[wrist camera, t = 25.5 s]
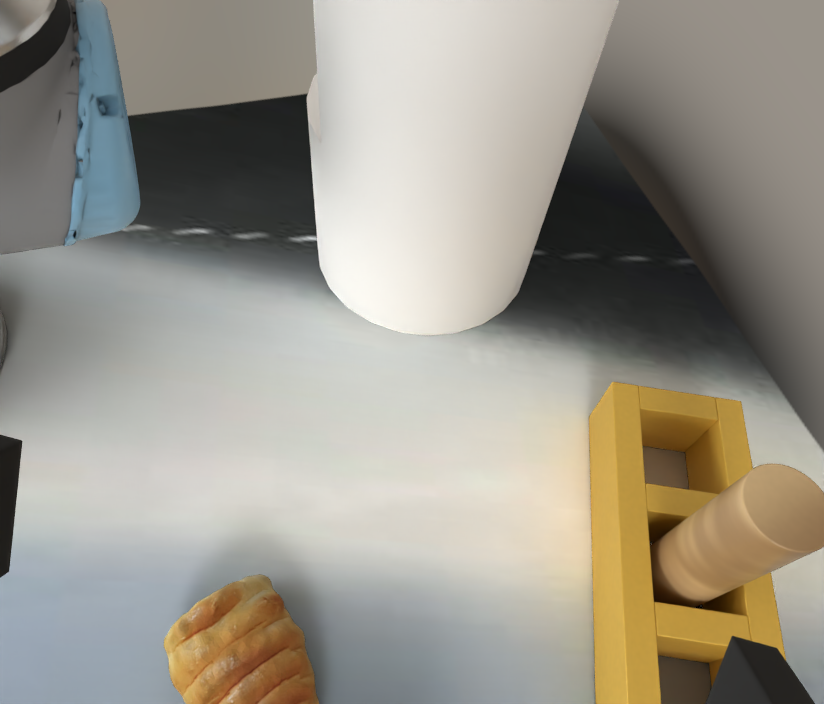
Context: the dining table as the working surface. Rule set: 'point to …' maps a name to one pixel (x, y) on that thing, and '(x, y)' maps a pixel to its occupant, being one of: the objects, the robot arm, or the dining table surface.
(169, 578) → the dining table surface
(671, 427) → the yellow peg holder
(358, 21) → the cylinder
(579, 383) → the dining table surface
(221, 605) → the pastry
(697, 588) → the peg
